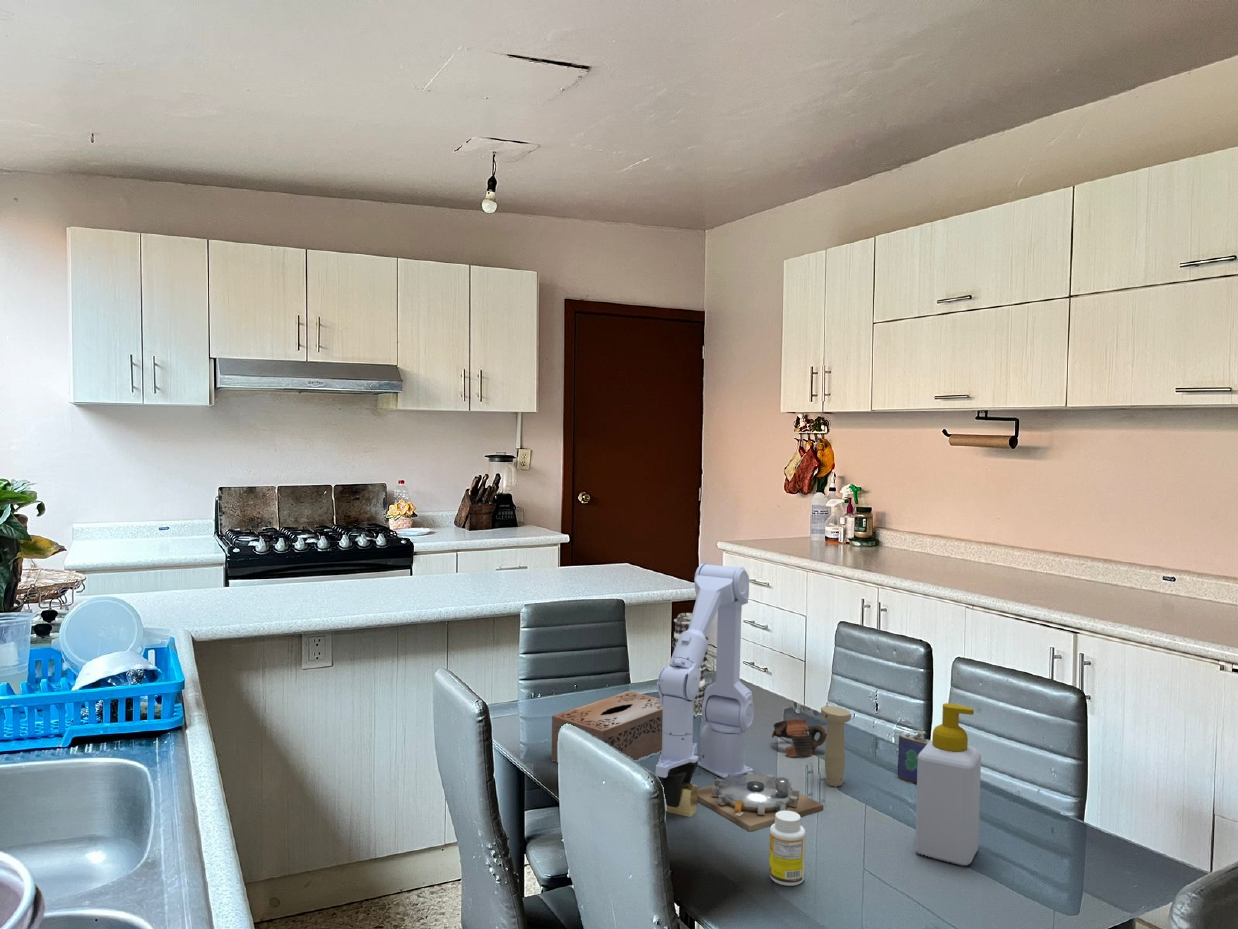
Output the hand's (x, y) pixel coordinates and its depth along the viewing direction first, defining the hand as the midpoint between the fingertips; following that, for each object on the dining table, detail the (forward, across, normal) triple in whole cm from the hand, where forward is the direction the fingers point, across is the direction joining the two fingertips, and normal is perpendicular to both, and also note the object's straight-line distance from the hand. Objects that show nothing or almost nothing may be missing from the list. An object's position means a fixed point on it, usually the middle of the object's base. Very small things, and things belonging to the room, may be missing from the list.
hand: (676, 802), depth 168 cm
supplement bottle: (+2, -15, -26) cm, 30 cm away
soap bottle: (+2, +8, -47) cm, 48 cm away
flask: (+2, +37, -38) cm, 53 cm away
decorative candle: (+2, +55, +21) cm, 59 cm away
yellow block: (+2, 0, 0) cm, 2 cm away
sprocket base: (+1, +10, -12) cm, 16 cm away
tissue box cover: (+2, +21, +24) cm, 32 cm away
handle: (+2, +27, -23) cm, 36 cm away
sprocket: (0, +10, -12) cm, 16 cm away
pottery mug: (+2, +43, -11) cm, 44 cm away
